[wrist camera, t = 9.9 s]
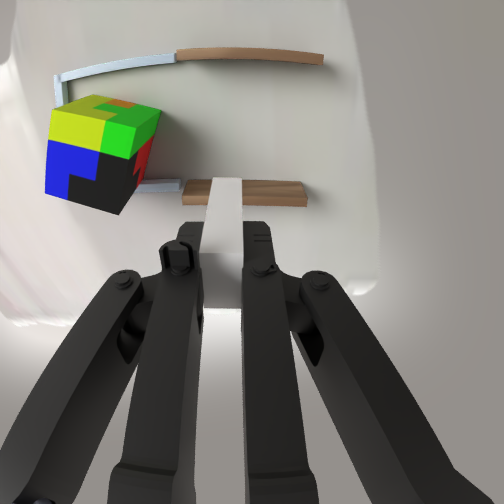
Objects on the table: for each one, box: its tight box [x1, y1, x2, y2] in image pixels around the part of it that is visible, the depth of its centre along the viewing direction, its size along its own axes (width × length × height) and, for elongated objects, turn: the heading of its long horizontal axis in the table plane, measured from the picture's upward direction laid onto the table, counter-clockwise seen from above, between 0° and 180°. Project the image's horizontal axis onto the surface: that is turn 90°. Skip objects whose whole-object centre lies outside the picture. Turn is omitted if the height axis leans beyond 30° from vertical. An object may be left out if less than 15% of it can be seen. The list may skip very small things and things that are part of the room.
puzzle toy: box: [45, 95, 161, 215], centre depth 30 cm, size 10×10×10 cm
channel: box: [177, 48, 324, 207], centre depth 32 cm, size 18×15×5 cm
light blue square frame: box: [54, 53, 181, 193], centre depth 32 cm, size 18×17×2 cm
